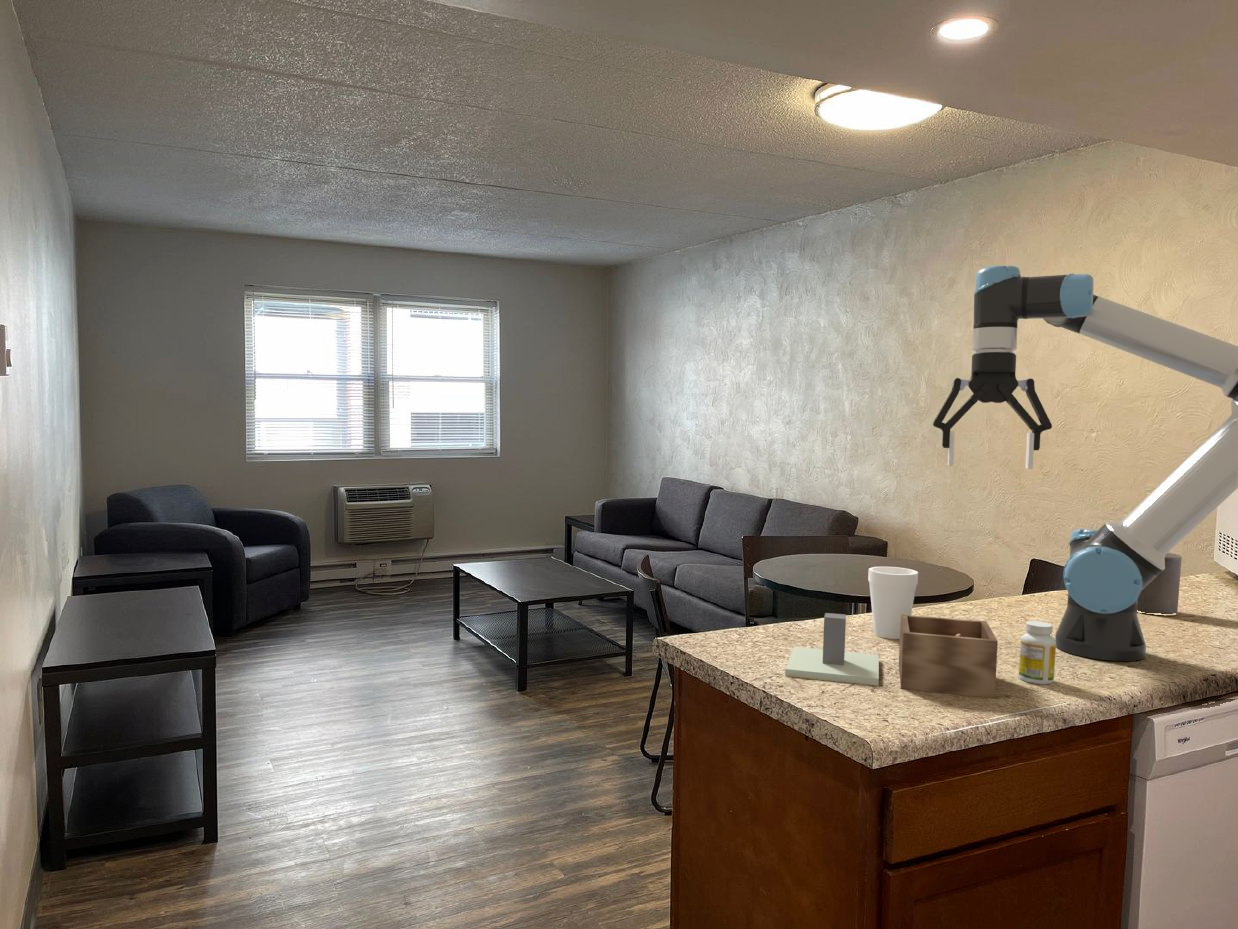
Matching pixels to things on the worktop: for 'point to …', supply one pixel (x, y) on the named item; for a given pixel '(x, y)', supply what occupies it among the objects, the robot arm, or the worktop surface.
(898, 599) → the foam cup
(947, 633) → the box
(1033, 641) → the supplement bottle
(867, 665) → the lid
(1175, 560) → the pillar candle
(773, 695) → the worktop surface
